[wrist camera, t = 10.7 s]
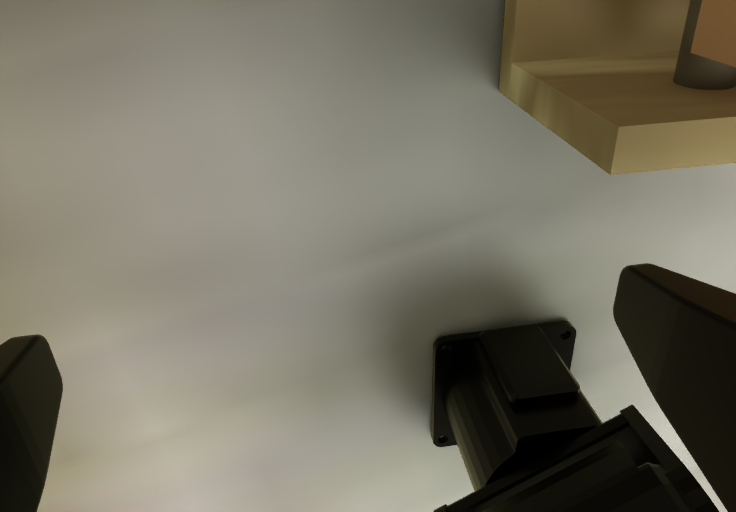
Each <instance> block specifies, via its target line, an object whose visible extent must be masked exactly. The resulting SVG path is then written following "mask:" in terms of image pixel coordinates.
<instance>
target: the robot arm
mask: <svg viewBox="0 0 736 512" xmlns="http://www.w3.org/2000/svg"><path fill="white" fill-rule="evenodd" d="M613 314H614V319H615V322H616V324H617V326H618V328H619V330H620V332H621V334H622V336H623V338H624V340H625V342H626V344H627V346H628V348H629V350H630V352H631V354H632V356H633V358H634V360H635V362H636V364H637V366H638V368H639V370H640V372H641V374H642V376H643V378H644V380H645V382H646V384H647V386H648V387H649V389H650V391H651V393H652V395H653V396H654V398H655V400H656V401H657V403H658V405H659V406H660V408H661V410H662V411H663V413H664V414H665V416H666V417H667V419H668V420H669V422H670V424H671V425H672V427H673V428H674V430H675V431H676V433H677V434H678V436H679V437H680V439H681V440H682V442H683V443H684V445H685V447H686V448H687V450H688V451H689V453H690V454H691V456H692V457H693V459H694V460H695V462H696V463H697V465H698V467H699V468H700V470H701V471H702V473H703V474H704V476H705V477H706V479H707V480H708V482H709V483H710V485H711V486H712V488H713V490H714V491H715V493H716V494H717V496H718V497H719V499H720V500H721V502H722V503H723V505H724V506H725V508H726V510H727V511H728V512H736V294H735V293H732V292H729V291H726V290H723V289H721V288H718V287H715V286H712V285H709V284H707V283H704V282H701V281H698V280H695V279H693V278H690V277H687V276H684V275H681V274H678V273H676V272H673V271H670V270H667V269H664V268H662V267H659V266H656V265H653V264H647V263H645V264H637V265H629V266H626V267H625V268H623V270H622V271H621V274H620V277H619V282H618V287H617V292H616V297H615V302H614V307H613ZM564 331H566V332H565V333H564V334H561V333H562V332H564ZM575 338H576V330H575V328H574V327H573V326H572V324H571V323H570V322H568V321H559V322H551V323H543V324H535V325H527V326H519V327H511V328H503V329H495V330H487V331H479V332H471V333H463V334H455V335H447V336H442V337H440V338H438V339H437V340H436V341H435V342H434V345H433V376H432V419H431V436H432V440H433V443H434V444H435V445H436V446H438V447H445V446H452V445H458V447H459V450H460V453H461V455H462V458H463V461H464V464H465V466H466V469H467V472H468V474H469V477H470V480H471V483H472V485H473V488H474V491H475V492H473V493H471V494H469V495H467V496H465V497H463V498H462V499H460V500H458V501H456V502H454V503H452V504H450V505H448V506H447V505H446V504H445V505H443V506H441V507H439V508H438V509H436V510H434V512H719V511H718V509H717V508H716V506H715V505H714V503H713V502H712V501H711V499H710V498H709V496H708V495H707V494H706V492H705V491H704V490H703V488H702V487H701V485H700V484H699V483H698V482H697V480H696V479H695V478H694V476H693V475H692V474H691V473H690V471H689V470H688V469H687V468H686V466H685V465H684V464H683V463H682V462H681V461H680V459H679V458H678V457H677V456H676V455H675V453H674V452H673V451H672V450H671V449H670V448H669V446H668V445H667V444H666V443H665V442H664V441H663V439H662V438H661V437H660V436H659V435H658V434H657V432H656V431H655V430H654V429H653V428H652V427H651V425H650V424H649V423H648V422H647V421H646V420H645V418H644V417H643V416H642V415H641V414H640V413H639V411H638V410H637V409H636V408H635V407H634V406H633V405H630V406H628V407H627V408H625V409H623V410H621V411H620V413H621V414H619V415H617V416H615V417H613V418H612V419H610V420H608V421H606V422H604V423H602V422H601V420H600V419H599V417H598V416H597V414H596V413H595V411H594V410H593V408H592V407H591V405H590V404H589V402H588V401H587V399H586V398H585V396H584V395H583V393H582V392H581V390H580V386H579V384H578V382H577V381H576V379H575V378H574V376H573V375H572V373H571V372H570V367H571V361H572V355H573V350H574V344H575ZM444 346H449V347H448V348H447V349H442V348H443V347H444ZM62 392H63V384H62V378H61V375H60V372H59V369H58V367H57V364H56V362H55V359H54V356H53V354H52V351H51V349H50V346H49V344H48V342H47V340H46V339H45V337H43V336H41V335H28V336H20V337H13V338H11V339H9V340H7V341H6V342H4V343H3V344H1V345H0V512H37V509H38V506H39V503H40V499H41V496H42V492H43V489H44V486H45V481H46V477H47V472H48V467H49V462H50V456H51V451H52V446H53V440H54V435H55V430H56V425H57V419H58V414H59V409H60V403H61V398H62ZM441 436H443V437H441Z"/></svg>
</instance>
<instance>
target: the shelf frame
mask: <svg viewBox="0 0 736 512" xmlns="http://www.w3.org/2000/svg"><path fill="white" fill-rule="evenodd" d="M701 3H702V0H506V1H505V14H504V28H503V42H502V55H501V69H500V83H499V92H500V93H502V94H503V95H504V96H506V97H507V98H508V99H510V100H511V101H512V102H514V103H515V104H516V105H518V106H519V107H520V108H522V109H523V110H524V111H526V112H527V113H528V114H530V115H531V116H532V117H534V118H535V119H536V120H538V121H539V122H540V123H542V124H543V125H544V126H546V127H547V128H548V129H550V130H551V131H552V132H554V133H555V134H556V135H558V136H559V137H560V138H562V139H563V140H564V141H566V142H567V143H568V144H570V145H571V146H572V147H574V148H575V149H577V150H578V151H579V152H581V153H582V154H583V155H585V156H586V157H587V158H589V159H590V160H591V161H593V162H594V163H595V164H597V165H598V166H599V167H601V168H602V169H603V170H605V171H606V172H607V173H609V174H610V175H614V174H624V173H634V172H645V171H655V170H665V169H676V168H686V167H696V166H707V165H717V164H727V163H736V67H733V66H730V65H727V64H724V63H721V62H718V61H715V60H711V59H708V58H705V57H702V56H699V55H696V54H693V53H690V52H691V48H692V43H693V39H694V34H695V30H696V25H697V21H698V17H699V12H700V8H701Z"/></svg>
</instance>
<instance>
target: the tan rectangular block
mask: <svg viewBox="0 0 736 512" xmlns="http://www.w3.org/2000/svg"><path fill="white" fill-rule="evenodd" d="M690 53H693V54H696V55H699V56H702V57H705V58H708V59H711V60H715V61H718V62H721V63H724V64H727V65H730V66H733V67H736V0H702V3H701V8H700V12H699V17H698V21H697V25H696V30H695V34H694V39H693V43H692V48H691V52H690Z"/></svg>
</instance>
